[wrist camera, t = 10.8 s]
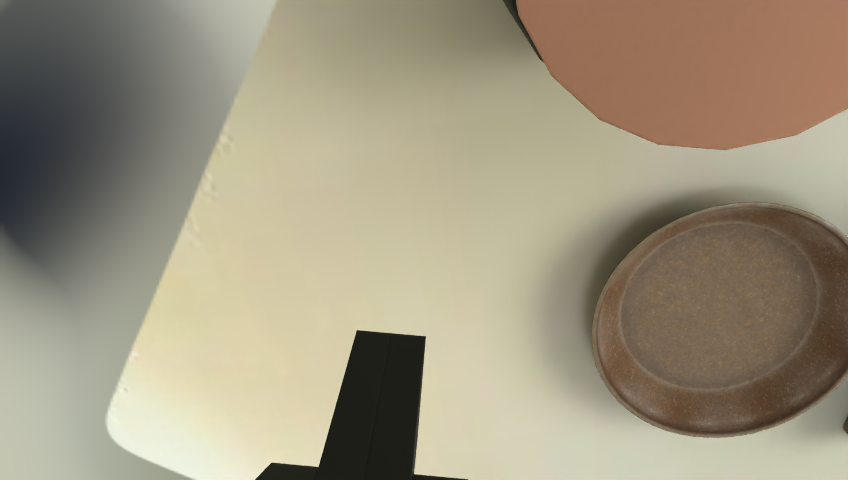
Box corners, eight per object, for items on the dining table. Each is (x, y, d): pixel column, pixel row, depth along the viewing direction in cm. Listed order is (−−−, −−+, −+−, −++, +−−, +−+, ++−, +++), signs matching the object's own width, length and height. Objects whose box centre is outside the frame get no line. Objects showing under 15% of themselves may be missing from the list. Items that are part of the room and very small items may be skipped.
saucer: (575, 204, 36) (584, 224, 34) (861, 168, 35) (892, 186, 32) (591, 418, 42) (599, 448, 40) (836, 397, 41) (860, 426, 38)
